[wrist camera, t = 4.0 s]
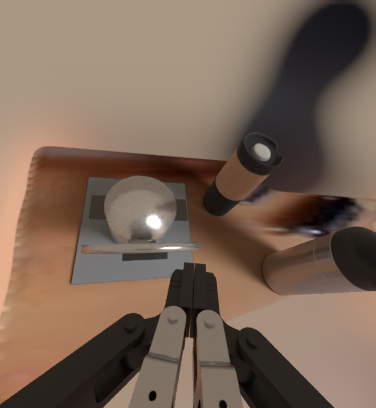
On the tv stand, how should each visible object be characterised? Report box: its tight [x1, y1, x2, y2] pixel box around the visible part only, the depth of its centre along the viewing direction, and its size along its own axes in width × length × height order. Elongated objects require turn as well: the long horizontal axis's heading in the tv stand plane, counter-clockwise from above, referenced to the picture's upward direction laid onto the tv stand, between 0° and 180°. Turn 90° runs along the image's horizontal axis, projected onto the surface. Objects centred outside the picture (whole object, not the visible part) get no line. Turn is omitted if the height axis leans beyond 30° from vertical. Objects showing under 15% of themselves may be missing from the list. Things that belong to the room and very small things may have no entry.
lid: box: [81, 240, 202, 261], centre depth 22 cm, size 13×14×2 cm
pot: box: [89, 176, 188, 244], centre depth 36 cm, size 16×13×9 cm
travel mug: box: [203, 133, 283, 216], centre depth 40 cm, size 8×8×20 cm
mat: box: [71, 177, 193, 285], centre depth 40 cm, size 22×22×1 cm
